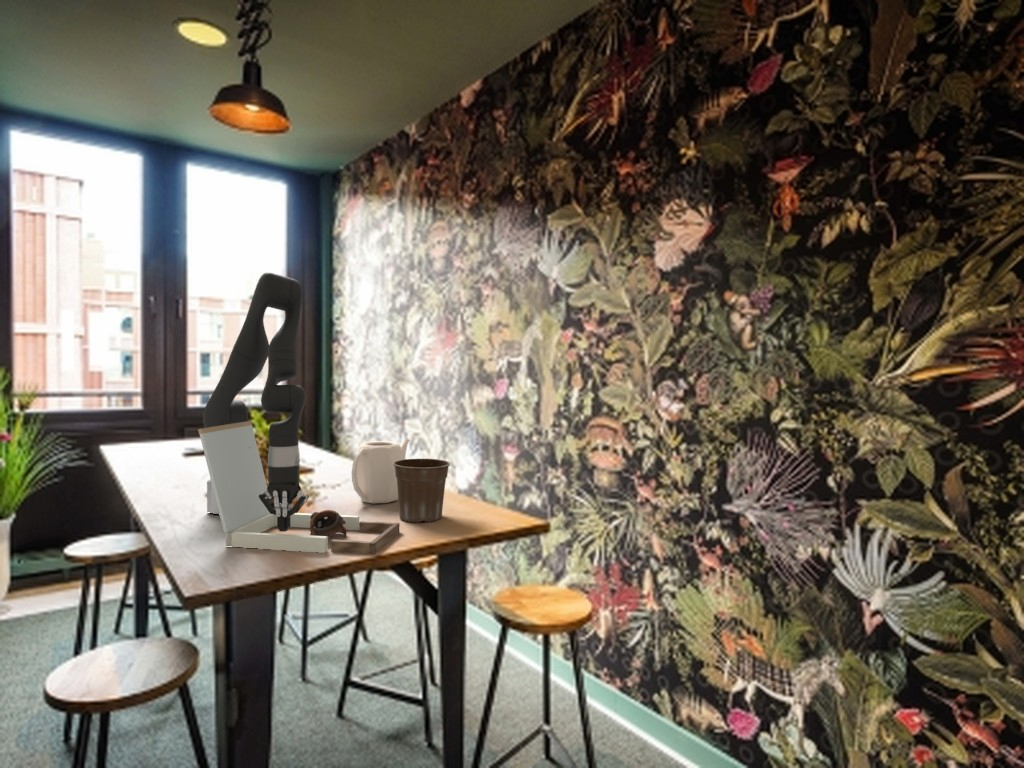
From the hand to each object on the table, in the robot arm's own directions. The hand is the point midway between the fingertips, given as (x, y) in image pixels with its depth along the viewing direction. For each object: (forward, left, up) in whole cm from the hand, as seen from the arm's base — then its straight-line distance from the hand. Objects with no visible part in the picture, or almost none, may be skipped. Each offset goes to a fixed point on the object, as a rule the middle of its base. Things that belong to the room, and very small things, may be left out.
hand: (283, 530), depth 153 cm
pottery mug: (+11, +1, -2) cm, 11 cm away
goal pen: (+22, 0, -2) cm, 22 cm away
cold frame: (0, 0, -2) cm, 2 cm away
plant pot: (+29, +25, -2) cm, 38 cm away
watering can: (+10, +45, -2) cm, 46 cm away
